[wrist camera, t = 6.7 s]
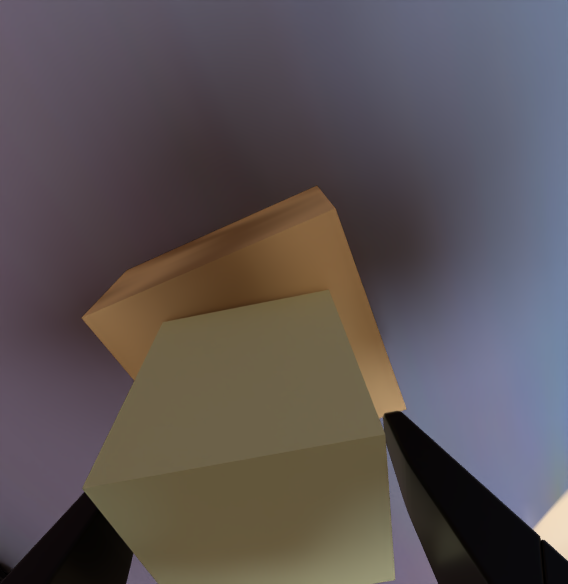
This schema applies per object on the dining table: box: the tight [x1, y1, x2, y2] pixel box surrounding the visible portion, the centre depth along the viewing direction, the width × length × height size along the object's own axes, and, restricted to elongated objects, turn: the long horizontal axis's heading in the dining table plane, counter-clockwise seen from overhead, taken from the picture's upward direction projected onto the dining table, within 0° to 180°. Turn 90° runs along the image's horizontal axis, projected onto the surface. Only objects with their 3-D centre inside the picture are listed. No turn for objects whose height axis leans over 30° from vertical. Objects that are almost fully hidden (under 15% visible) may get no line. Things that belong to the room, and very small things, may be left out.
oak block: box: [82, 186, 406, 418], centre depth 13 cm, size 8×8×4 cm
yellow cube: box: [82, 290, 395, 584], centre depth 9 cm, size 5×5×5 cm
